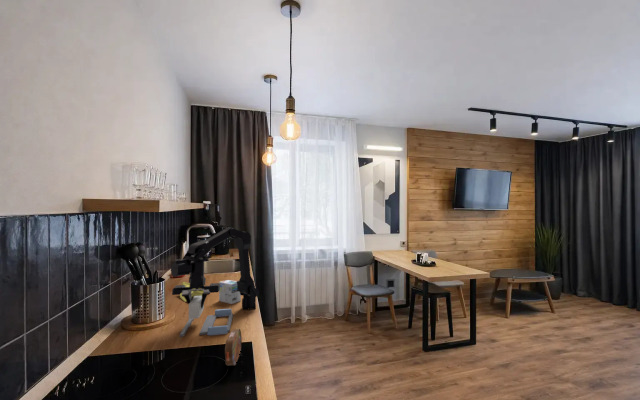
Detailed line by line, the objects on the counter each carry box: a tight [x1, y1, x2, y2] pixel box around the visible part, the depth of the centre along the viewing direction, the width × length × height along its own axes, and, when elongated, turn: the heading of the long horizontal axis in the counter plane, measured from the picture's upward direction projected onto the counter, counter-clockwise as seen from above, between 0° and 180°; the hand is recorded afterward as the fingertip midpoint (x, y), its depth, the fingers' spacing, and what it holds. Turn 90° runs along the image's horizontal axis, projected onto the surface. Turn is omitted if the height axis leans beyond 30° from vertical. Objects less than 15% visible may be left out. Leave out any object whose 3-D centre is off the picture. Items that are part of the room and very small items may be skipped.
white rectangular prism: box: [188, 296, 205, 320], centre depth 128 cm, size 4×12×6 cm, turn 12°
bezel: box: [207, 308, 233, 336], centre depth 130 cm, size 8×22×3 cm, turn 12°
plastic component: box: [179, 281, 204, 303], centre depth 172 cm, size 20×7×10 cm
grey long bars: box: [179, 313, 234, 338], centre depth 129 cm, size 19×20×1 cm
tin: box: [224, 328, 242, 366], centre depth 100 cm, size 15×3×8 cm, turn 4°
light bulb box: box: [218, 279, 242, 305], centre depth 163 cm, size 11×7×11 cm, turn 58°
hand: (196, 308), depth 128 cm, fingers closed on white rectangular prism, 4 cm apart
